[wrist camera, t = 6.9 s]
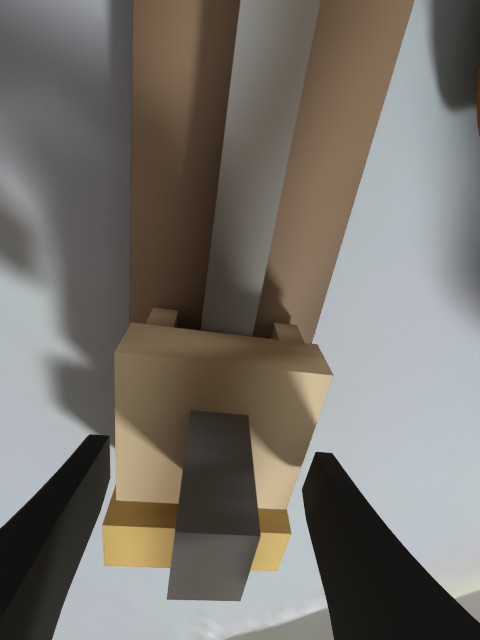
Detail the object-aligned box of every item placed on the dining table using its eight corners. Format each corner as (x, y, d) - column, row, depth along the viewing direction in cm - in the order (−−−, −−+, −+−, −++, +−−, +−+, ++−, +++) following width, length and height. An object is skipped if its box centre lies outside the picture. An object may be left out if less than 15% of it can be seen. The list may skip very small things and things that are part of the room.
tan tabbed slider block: (308, 326, 14) (391, 486, 7) (274, 444, 17) (309, 635, 10) (140, 305, 13) (49, 463, 6) (137, 433, 16) (74, 632, 9)
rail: (474, -281, 8) (869, -974, 3) (263, 471, 20) (276, 571, 15) (154, -401, 7) (5, -1637, 2) (134, 462, 19) (104, 565, 14)
